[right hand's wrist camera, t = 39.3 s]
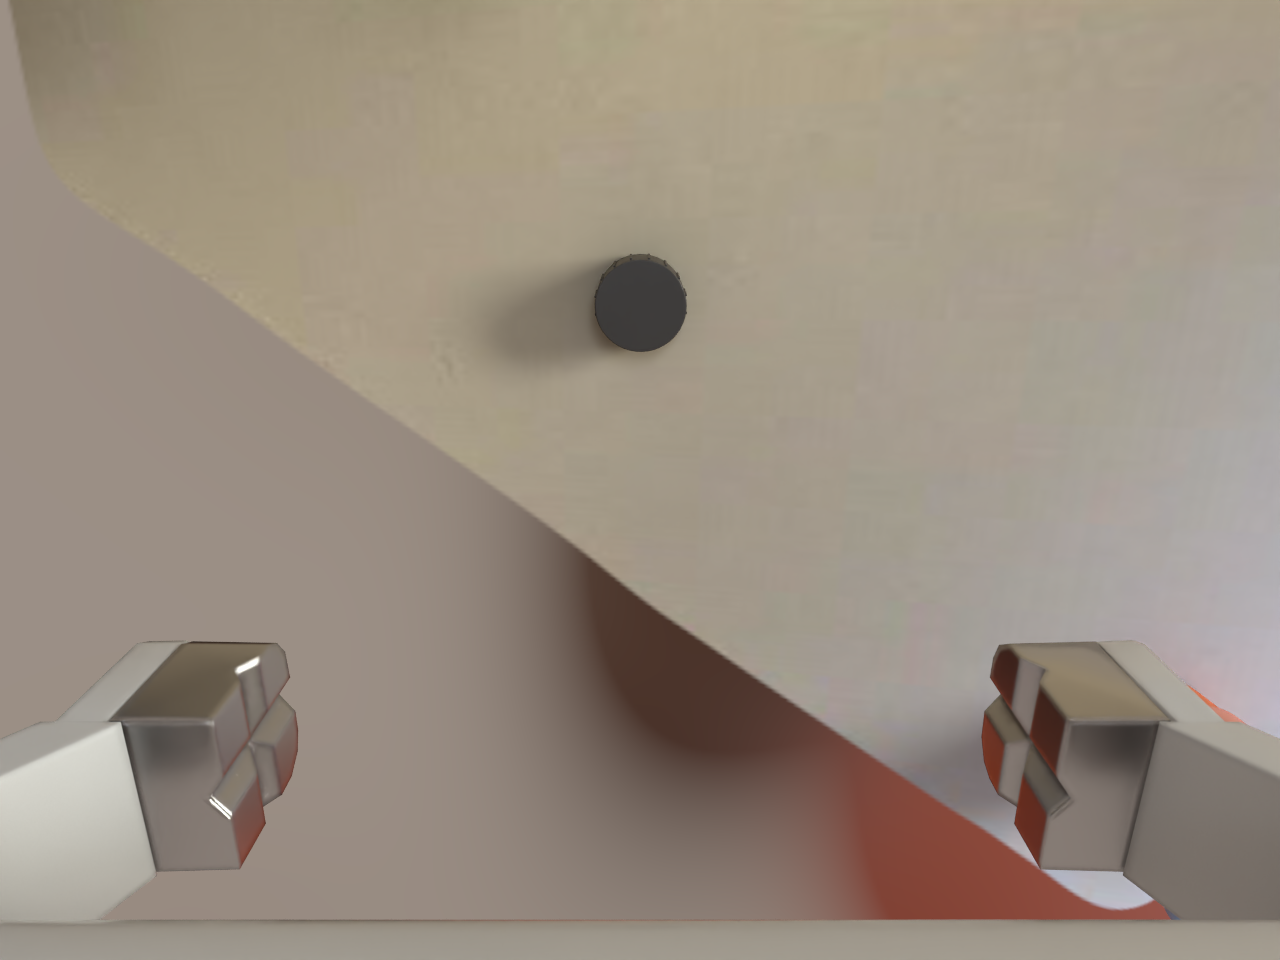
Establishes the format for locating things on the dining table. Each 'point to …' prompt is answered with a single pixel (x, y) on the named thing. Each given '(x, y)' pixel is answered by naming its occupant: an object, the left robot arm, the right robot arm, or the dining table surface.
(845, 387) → the dining table surface
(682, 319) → the cap
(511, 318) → the dining table surface
